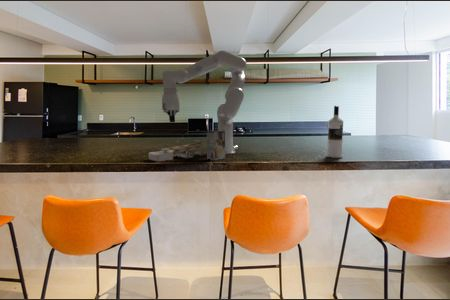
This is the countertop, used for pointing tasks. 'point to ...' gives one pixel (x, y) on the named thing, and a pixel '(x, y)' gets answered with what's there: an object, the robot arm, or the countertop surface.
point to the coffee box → (215, 145)
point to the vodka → (335, 135)
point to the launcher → (184, 147)
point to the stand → (186, 154)
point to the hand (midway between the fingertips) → (172, 122)
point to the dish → (160, 156)
